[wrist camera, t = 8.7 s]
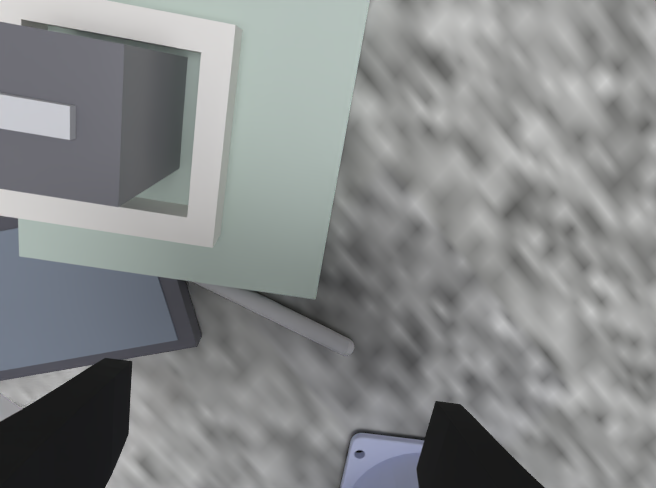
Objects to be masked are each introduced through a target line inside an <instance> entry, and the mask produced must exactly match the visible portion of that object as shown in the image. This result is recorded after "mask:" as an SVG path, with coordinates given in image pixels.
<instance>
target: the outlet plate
mask: <svg viewBox="0 0 656 488" xmlns="http://www.w3.org/2000/svg"><path fill="white" fill-rule="evenodd" d="M369 2H370V0H0V22H5V23H11V24H16V25H21V26H27V27H32V28H38V29H43V30H49V31H54V32H60V33H65V34H71V35H76V36H81V37H87V38H92V39H98V40H103V41H109V42H114V43H120V44H125V45H130V46H135V47H140V48H145V49H149V50H154V51H159V52H164V53H169V54H174V55H179V56H184V57H188V61H187V75H186V88H185V101H184V114H183V127H182V141H181V154H180V167H179V169H178V170H176V171H175V172H173V173H171V174H170V175H168V176H167V177H165V178H164V179H162V180H160V181H159V182H157V183H156V184H154V185H153V186H151V187H149V188H148V189H146V190H145V191H143V192H142V193H140V194H138V195H137V196H135V197H134V198H132V199H131V200H129V201H127V202H126V203H124V204H123V205H121V206H120V207H114V206H107V205H101V204H94V203H88V202H82V201H75V200H69V199H62V198H56V197H50V196H43V195H37V194H30V193H24V192H17V191H11V190H5V189H0V216H6V217H13V218H18V233H19V256H20V257H27V258H34V259H41V260H48V261H55V262H61V263H68V264H75V265H82V266H89V267H96V268H103V269H109V270H116V271H123V272H130V273H137V274H144V275H151V276H157V277H164V278H171V279H178V280H185V281H192V282H198V283H205V284H212V285H219V286H226V287H233V288H240V289H246V290H253V291H260V292H267V293H274V294H281V295H288V296H294V297H301V298H308V299H316V294H317V288H318V283H319V277H320V272H321V266H322V261H323V255H324V250H325V244H326V239H327V233H328V228H329V222H330V217H331V211H332V206H333V200H334V195H335V189H336V184H337V178H338V173H339V167H340V162H341V156H342V151H343V145H344V140H345V134H346V129H347V123H348V118H349V112H350V106H351V101H352V95H353V90H354V84H355V79H356V73H357V68H358V62H359V57H360V51H361V46H362V40H363V35H364V29H365V24H366V18H367V13H368V7H369Z"/></svg>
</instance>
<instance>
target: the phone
mask: <svg viewBox="0 0 656 488" xmlns="http://www.w3.org/2000/svg"><path fill="white" fill-rule="evenodd" d="M201 337H202V335H201V332H200V329H199V325H198V322H197V319H196V315H195V312H194V309H193V305H192V302H191V298H190V295H189V292H188V288H187V285H186V282H185V280H178V279H171V278H164V277H157V276H151V275H144V274H137V273H130V272H123V271H116V270H109V269H103V268H96V267H89V266H82V265H75V264H68V263H61V262H55V261H48V260H41V259H34V258H27V257H20V256H19V233H18V218H13V217H6V216H0V381H2V380H7V379H13V378H19V377H25V376H30V375H36V374H42V373H48V372H53V371H59V370H65V369H71V368H76V367H82V366H88V365H94V364H96V363H97V362H99V361H101V360H102V359H104V358H111V359H118V360H123V359H128V358H134V357H140V356H146V355H151V354H157V353H163V352H169V351H174V350H180V349H186V348H192V347H197V346H198V344H199V341H200V339H201Z"/></svg>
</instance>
